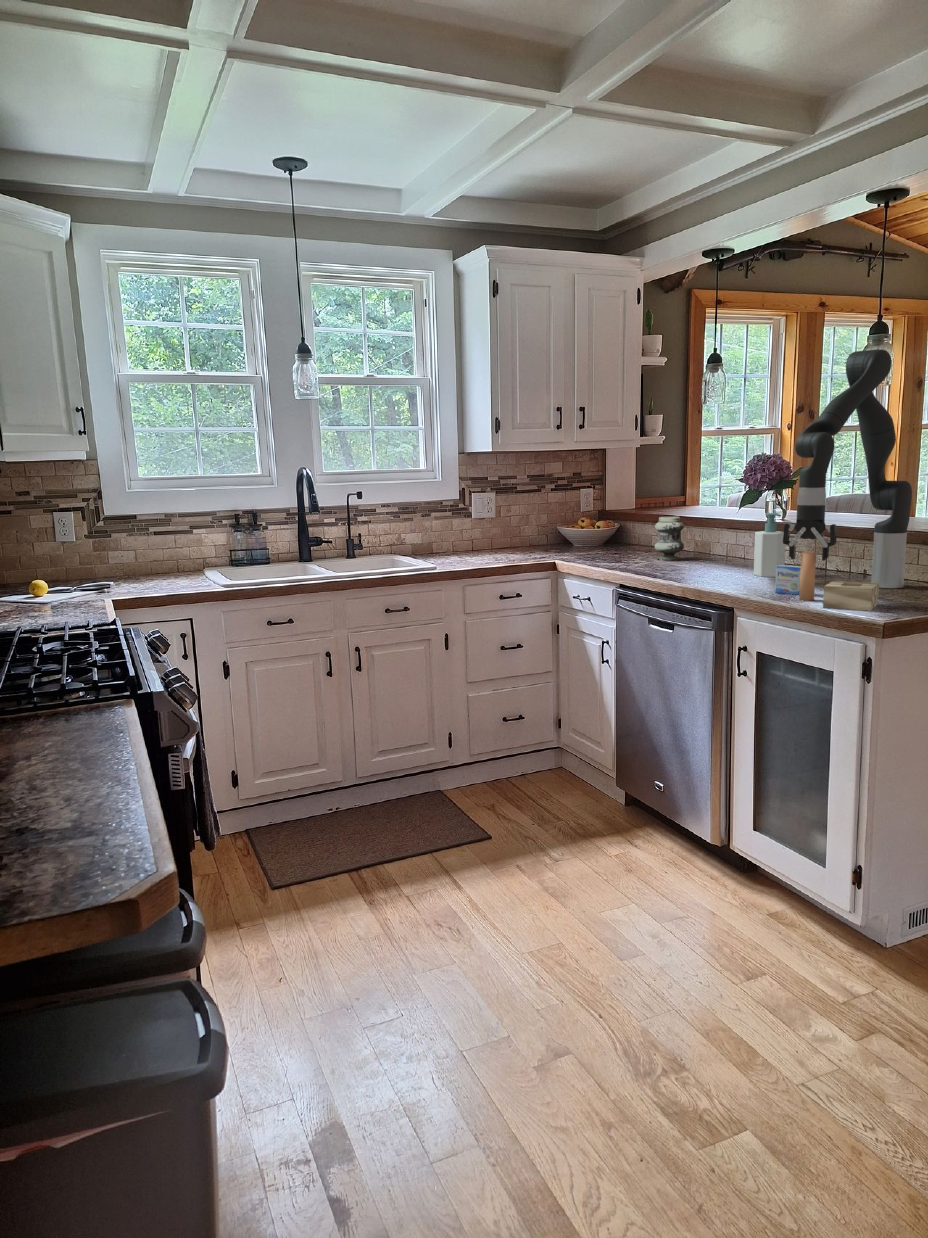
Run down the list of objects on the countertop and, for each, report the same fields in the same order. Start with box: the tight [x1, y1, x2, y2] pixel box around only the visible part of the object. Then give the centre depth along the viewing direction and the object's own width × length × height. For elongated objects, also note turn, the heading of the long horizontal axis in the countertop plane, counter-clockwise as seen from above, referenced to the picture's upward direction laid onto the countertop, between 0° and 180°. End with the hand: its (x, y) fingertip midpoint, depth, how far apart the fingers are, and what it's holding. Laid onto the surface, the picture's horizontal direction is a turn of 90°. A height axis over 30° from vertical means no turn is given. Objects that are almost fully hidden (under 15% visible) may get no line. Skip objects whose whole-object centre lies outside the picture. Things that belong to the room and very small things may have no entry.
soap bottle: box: [753, 512, 787, 578], centre depth 301 cm, size 10×9×22 cm
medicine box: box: [774, 564, 801, 596], centre depth 260 cm, size 8×4×9 cm, turn 45°
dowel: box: [798, 551, 817, 602], centre depth 248 cm, size 4×4×14 cm
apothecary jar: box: [654, 516, 685, 561], centre depth 357 cm, size 12×12×18 cm
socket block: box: [822, 580, 880, 612], centre depth 236 cm, size 12×12×6 cm
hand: (808, 559), depth 247 cm, fingers open, 8 cm apart
